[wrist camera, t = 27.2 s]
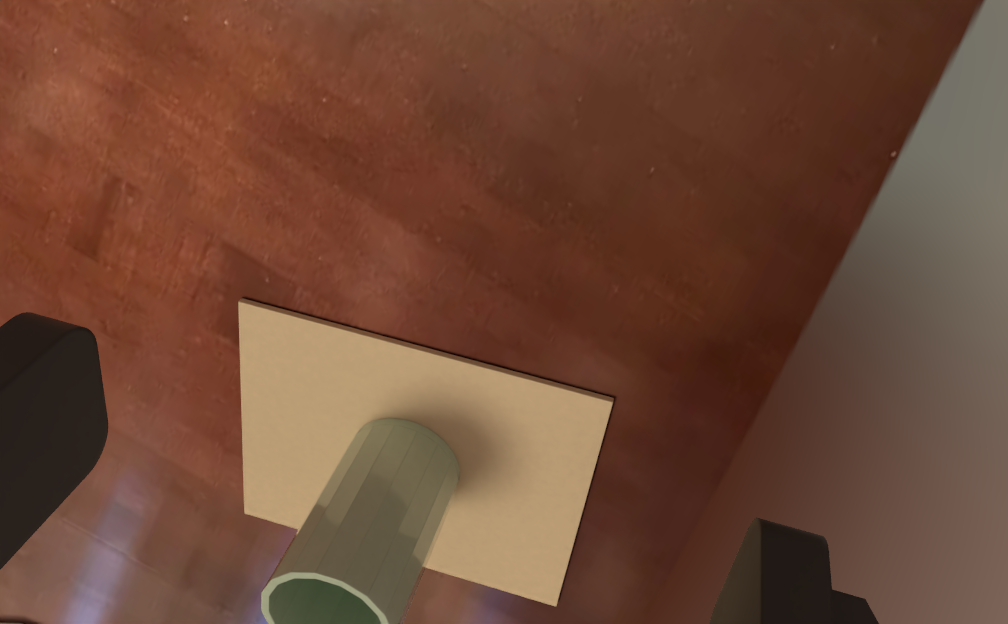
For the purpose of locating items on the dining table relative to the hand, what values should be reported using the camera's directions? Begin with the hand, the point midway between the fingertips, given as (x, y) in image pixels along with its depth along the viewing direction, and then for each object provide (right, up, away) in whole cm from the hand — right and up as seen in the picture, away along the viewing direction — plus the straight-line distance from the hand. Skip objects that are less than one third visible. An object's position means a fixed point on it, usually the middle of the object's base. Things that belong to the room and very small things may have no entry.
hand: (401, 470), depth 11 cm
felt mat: (-4, -6, +40) cm, 40 cm away
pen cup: (-4, -7, +39) cm, 40 cm away
